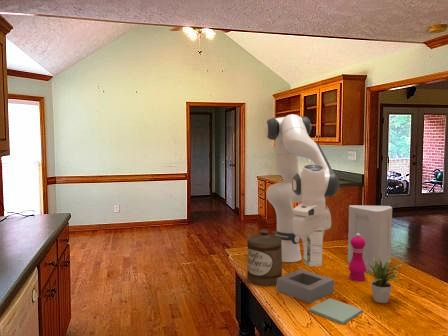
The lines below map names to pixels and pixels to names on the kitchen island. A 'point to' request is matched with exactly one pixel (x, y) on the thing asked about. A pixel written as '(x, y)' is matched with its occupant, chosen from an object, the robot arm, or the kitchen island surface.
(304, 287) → the frame
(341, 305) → the mat
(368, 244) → the white triangular bin
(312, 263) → the syrup box
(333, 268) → the kitchen island surface
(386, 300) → the house plant
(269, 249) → the wooden container
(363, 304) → the kitchen island surface
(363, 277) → the pepper mill
